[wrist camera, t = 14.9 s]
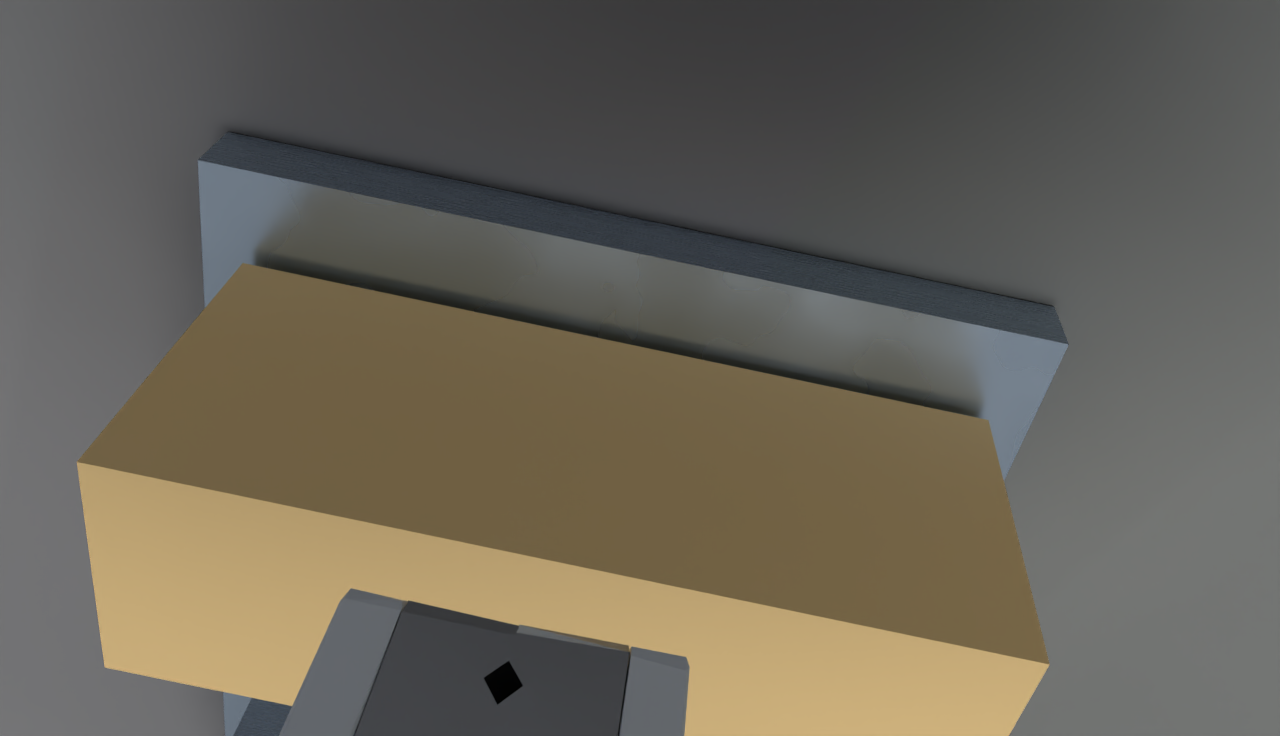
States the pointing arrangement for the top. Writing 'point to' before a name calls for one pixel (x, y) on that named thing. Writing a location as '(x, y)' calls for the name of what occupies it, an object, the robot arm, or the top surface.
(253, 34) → the top surface
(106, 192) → the top surface
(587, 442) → the block
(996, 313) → the vise base
